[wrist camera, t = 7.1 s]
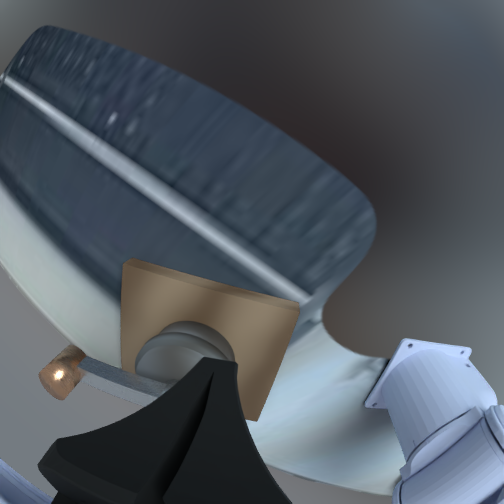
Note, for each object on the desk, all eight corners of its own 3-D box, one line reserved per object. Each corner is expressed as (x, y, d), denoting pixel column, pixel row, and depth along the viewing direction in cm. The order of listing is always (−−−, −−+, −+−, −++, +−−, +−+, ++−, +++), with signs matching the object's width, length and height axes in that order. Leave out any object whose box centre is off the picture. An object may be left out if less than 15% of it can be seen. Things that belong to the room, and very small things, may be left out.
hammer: (193, 381, 16) (175, 426, 12) (192, 405, 17) (176, 448, 13) (66, 338, 16) (34, 366, 13) (71, 362, 17) (44, 391, 13)
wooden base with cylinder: (298, 302, 20) (304, 344, 15) (258, 410, 23) (253, 455, 18) (132, 257, 20) (92, 282, 15) (128, 371, 24) (103, 407, 18)
